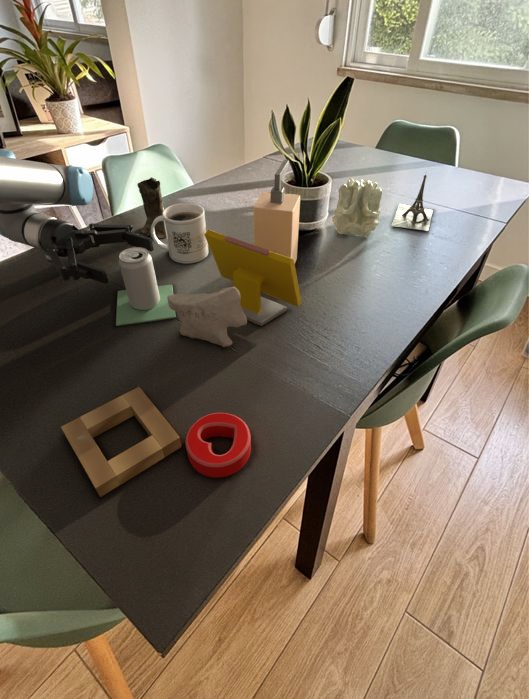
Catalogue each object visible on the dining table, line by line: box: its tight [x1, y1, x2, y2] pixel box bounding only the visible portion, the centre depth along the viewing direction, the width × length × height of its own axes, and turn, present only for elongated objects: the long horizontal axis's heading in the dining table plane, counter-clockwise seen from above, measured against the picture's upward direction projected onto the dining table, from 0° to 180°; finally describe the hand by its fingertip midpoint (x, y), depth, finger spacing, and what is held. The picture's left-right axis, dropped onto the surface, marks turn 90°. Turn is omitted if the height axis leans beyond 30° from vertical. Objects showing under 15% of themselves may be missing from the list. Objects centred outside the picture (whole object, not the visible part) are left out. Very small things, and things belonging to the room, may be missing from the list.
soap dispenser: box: [252, 159, 301, 265], centre depth 97 cm, size 13×9×22 cm
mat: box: [115, 284, 177, 327], centre depth 92 cm, size 12×12×1 cm
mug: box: [150, 202, 209, 264], centre depth 104 cm, size 10×12×11 cm
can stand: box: [60, 386, 183, 498], centre depth 65 cm, size 13×13×2 cm
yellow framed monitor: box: [204, 229, 302, 327], centre depth 86 cm, size 20×8×16 cm, turn 56°
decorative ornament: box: [185, 412, 252, 478], centre depth 64 cm, size 10×10×3 cm
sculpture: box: [167, 286, 248, 348], centre depth 78 cm, size 17×5×15 cm, turn 69°
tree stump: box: [137, 177, 166, 239], centre depth 112 cm, size 10×10×13 cm
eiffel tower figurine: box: [391, 170, 434, 232], centre depth 117 cm, size 15×10×13 cm
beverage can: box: [118, 246, 160, 310], centre depth 87 cm, size 6×6×12 cm
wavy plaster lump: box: [331, 177, 383, 238], centre depth 114 cm, size 18×13×16 cm
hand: (129, 260), depth 85 cm, fingers open, 13 cm apart
